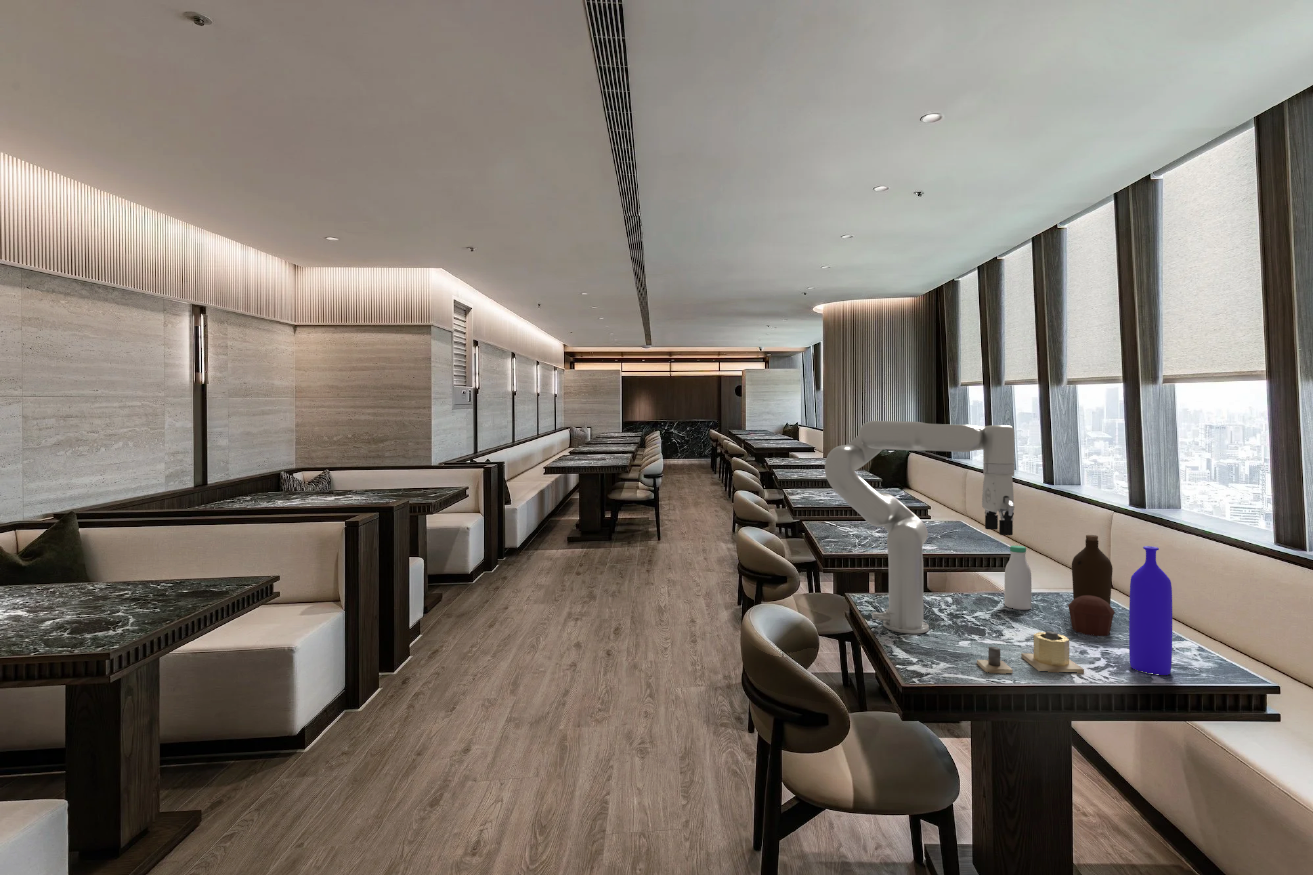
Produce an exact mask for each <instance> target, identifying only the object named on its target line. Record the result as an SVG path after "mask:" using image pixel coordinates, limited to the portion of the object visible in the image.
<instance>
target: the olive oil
mask: <svg viewBox="0 0 1313 875" xmlns="http://www.w3.org/2000/svg"><path fill="white" fill-rule="evenodd" d="M1084 541H1085V547H1084V548H1083V549H1082V550H1080V551H1079V552H1078V553H1077V554H1076V555H1074V557H1073V558H1072V561H1071V576H1072V577H1071V578H1072V596H1073V597H1072V601H1073V600H1074V599H1075V598H1077V597H1080V596H1085V595H1091V596H1096V597H1099V598H1101V599H1103V600H1105V601H1106V602H1107V603H1108V604H1109V605H1110V606H1111V598H1112V597H1111V596H1112V580H1113V569H1114V568H1113V564H1112V562H1111V560H1110V558H1109V557H1108V556H1107V555H1106V554H1105V553H1104V552H1103V551H1101V549H1100V548H1099V536H1098V535H1093V534H1086V535H1085V540H1084Z"/></svg>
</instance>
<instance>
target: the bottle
mask: <svg viewBox="0 0 1313 875" xmlns="http://www.w3.org/2000/svg"><path fill="white" fill-rule="evenodd" d="M1142 548H1143V550H1145V561H1144V563H1143V565H1142V566H1140V567H1139V568H1138V569H1137V570H1136V571H1134V572H1133V574H1132V575H1131V577H1130V584H1129V604H1128V605H1129V607H1128V608H1129V610H1128V612H1129V613H1128V615H1129V617H1128V618H1129V621H1128V623H1129V625H1128V626H1129V627H1128V630H1129V631H1128V639H1129V640H1128V646H1129V647H1128V648H1129V650H1128V651H1129V664H1130V665H1129V666H1130V667H1131V669H1132V668H1133V670H1134V669H1136V670H1138V671H1143V672H1147V673H1153V674H1159V675H1167V676H1169V675H1170V674H1171V672H1172V662H1173V661H1172V660H1173V588H1172V582H1171V579H1170V578H1169V577H1168V575H1167V574H1166V573H1165V572H1164V570H1162V568H1160V566H1159V565H1158V563H1157V551H1159V550H1160V549H1159V547H1157V546H1153V545H1151V546H1150V545H1145V546H1143V547H1142ZM1136 670H1135V671H1136ZM1138 671H1137V672H1138ZM1168 674H1169V675H1168Z"/></svg>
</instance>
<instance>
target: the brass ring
mask: <svg viewBox="0 0 1313 875" xmlns="http://www.w3.org/2000/svg"><path fill="white" fill-rule="evenodd" d="M1046 632H1047V631H1045V632H1042V631H1041V632H1040V631H1038V632H1035V633H1034V634H1033V654H1034V659H1035V660H1036V661H1038V662H1039V663H1043V664H1047V665H1050V666H1066V665H1068V664H1069V659H1070V639H1069V638H1068V637H1067V636H1065V635H1063V634H1059V633H1058V640H1050V639H1046Z"/></svg>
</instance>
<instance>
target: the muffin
mask: <svg viewBox="0 0 1313 875" xmlns="http://www.w3.org/2000/svg"><path fill="white" fill-rule="evenodd" d="M1067 607H1068V612H1069V618H1070V622H1071V623H1070V624H1071V627H1072V628H1071V629H1072V630H1074V631H1075V632H1076V633H1079V634H1084V635H1086V636H1095V637H1107V636H1108V635H1110V633H1111V629H1112V626H1113V625H1112V624H1113V620H1114V619H1113V618H1114V615H1115V614H1116V612H1115V610H1114V609H1113V607H1112V606H1111V604H1110V605H1109V604H1108V603H1107V602H1106V601H1105V600H1103V599H1101V598H1099V597H1096V596H1091V595H1085V596H1080V597H1077V598H1075V599H1074V600H1073V599H1072V600H1071V602H1070V603H1069V604H1068V605H1067Z"/></svg>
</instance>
